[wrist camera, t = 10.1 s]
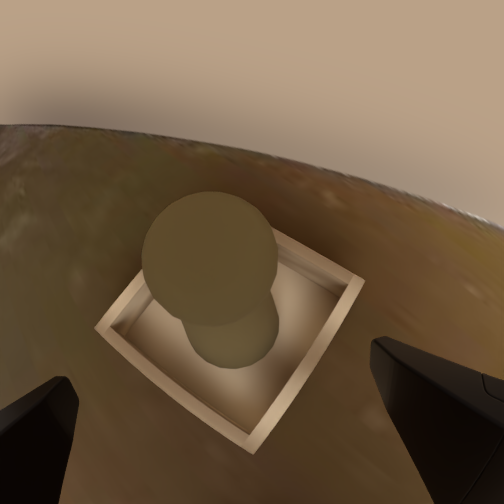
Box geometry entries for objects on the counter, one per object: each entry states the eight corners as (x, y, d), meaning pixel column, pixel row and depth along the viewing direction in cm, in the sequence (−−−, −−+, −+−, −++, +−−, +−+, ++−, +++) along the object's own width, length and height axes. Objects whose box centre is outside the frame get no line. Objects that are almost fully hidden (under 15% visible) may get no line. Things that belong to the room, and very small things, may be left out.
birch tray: (254, 448, 17) (253, 454, 14) (113, 339, 21) (94, 328, 18) (353, 297, 22) (365, 280, 19) (215, 216, 25) (209, 193, 22)
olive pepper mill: (274, 275, 22) (279, 160, 12) (284, 364, 19) (306, 312, 9) (185, 283, 22) (128, 177, 12) (187, 371, 19) (111, 327, 9)
